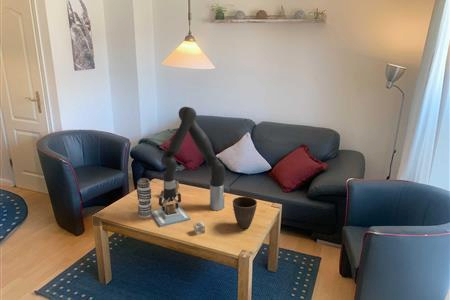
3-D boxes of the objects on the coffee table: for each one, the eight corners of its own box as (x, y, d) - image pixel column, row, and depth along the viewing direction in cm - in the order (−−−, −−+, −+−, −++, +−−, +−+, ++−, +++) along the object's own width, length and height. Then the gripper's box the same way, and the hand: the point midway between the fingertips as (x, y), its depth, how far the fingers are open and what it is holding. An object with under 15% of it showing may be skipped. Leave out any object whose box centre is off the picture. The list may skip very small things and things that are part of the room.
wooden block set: (174, 189, 258) (173, 177, 255) (183, 190, 254) (182, 178, 251) (159, 198, 243) (158, 185, 240) (169, 200, 239) (168, 186, 236)
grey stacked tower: (135, 215, 217) (132, 179, 210) (146, 210, 224) (144, 175, 217) (144, 219, 212) (142, 183, 205) (155, 214, 219) (153, 179, 212)
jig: (179, 207, 229) (179, 202, 228) (190, 219, 212) (190, 215, 211) (151, 213, 220) (150, 208, 219) (160, 226, 203) (160, 222, 202)
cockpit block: (201, 229, 201) (201, 220, 200) (204, 233, 197) (204, 224, 196) (193, 231, 199) (193, 222, 198) (197, 235, 195) (197, 226, 193)
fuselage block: (172, 212, 219) (172, 204, 217) (175, 215, 215) (175, 207, 213) (165, 213, 217) (165, 205, 215) (168, 217, 212) (167, 208, 211)
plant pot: (254, 232, 199) (256, 208, 194) (230, 230, 201) (230, 206, 196) (256, 220, 213) (258, 197, 208) (233, 218, 215) (234, 195, 210)
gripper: (178, 182, 216) (178, 205, 221) (156, 186, 210) (157, 209, 214) (182, 186, 210) (182, 209, 215) (160, 190, 203) (161, 214, 208)
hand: (170, 209), depth 215 cm, fingers open, 8 cm apart
